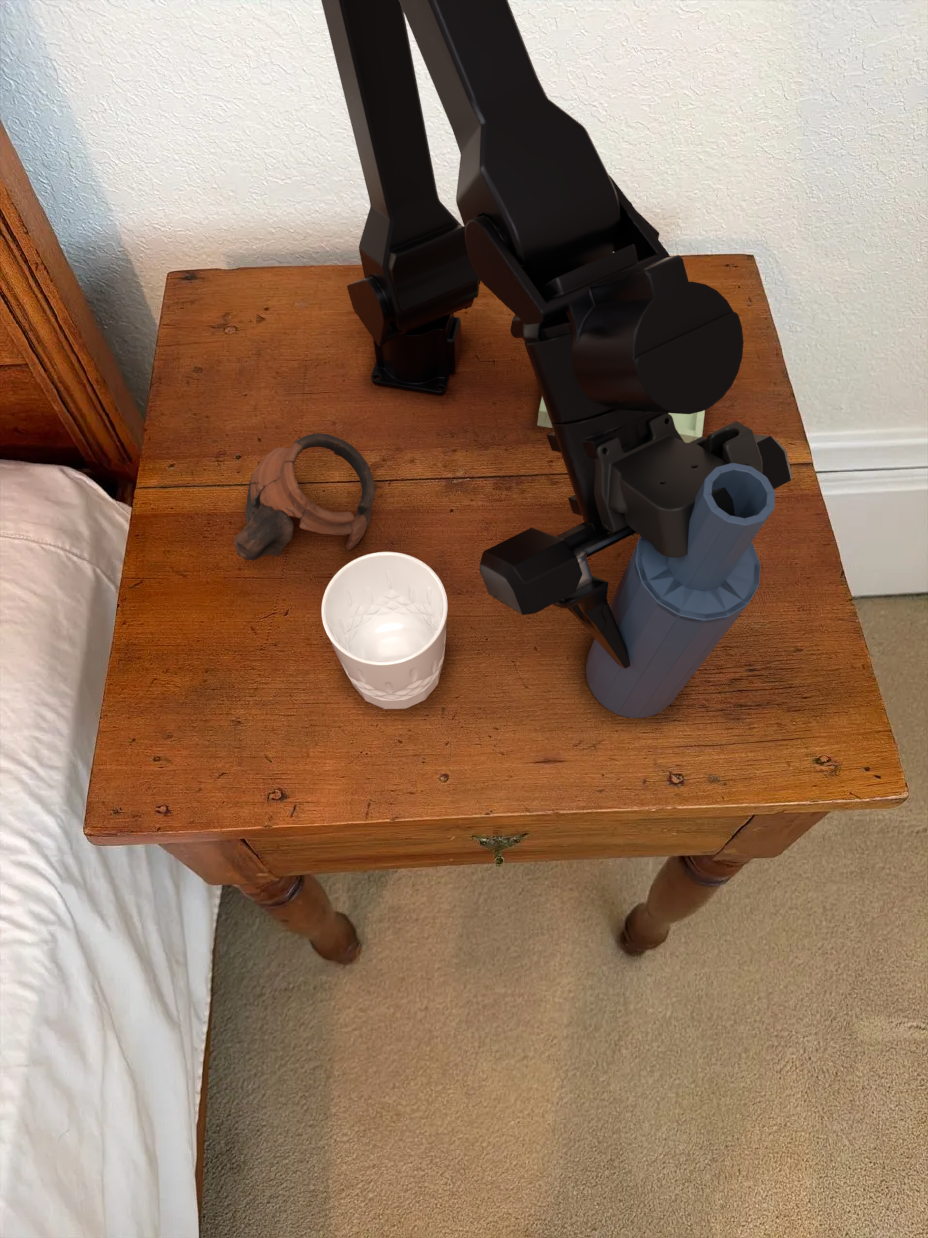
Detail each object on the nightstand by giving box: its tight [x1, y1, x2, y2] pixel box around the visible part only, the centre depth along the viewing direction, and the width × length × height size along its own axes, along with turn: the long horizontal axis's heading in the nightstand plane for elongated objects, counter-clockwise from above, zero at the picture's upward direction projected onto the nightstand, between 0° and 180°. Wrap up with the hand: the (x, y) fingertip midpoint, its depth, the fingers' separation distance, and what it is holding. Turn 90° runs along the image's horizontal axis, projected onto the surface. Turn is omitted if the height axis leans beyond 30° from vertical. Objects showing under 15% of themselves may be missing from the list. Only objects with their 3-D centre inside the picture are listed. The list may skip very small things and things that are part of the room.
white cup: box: [320, 551, 449, 710], centre depth 60 cm, size 8×8×10 cm
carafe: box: [585, 463, 776, 719], centre depth 53 cm, size 7×7×24 cm
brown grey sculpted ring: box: [233, 432, 376, 562], centre depth 67 cm, size 12×10×8 cm
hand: (671, 640), depth 55 cm, fingers closed on carafe, 7 cm apart
